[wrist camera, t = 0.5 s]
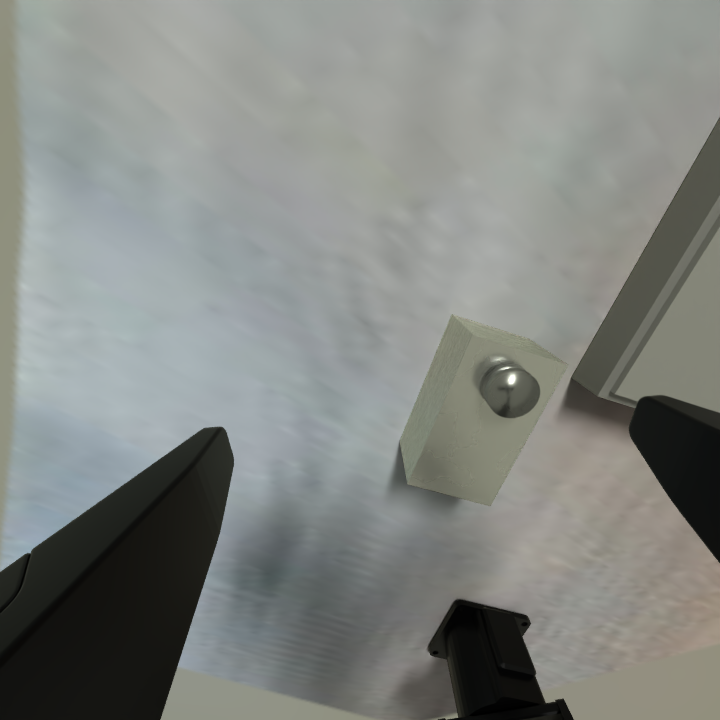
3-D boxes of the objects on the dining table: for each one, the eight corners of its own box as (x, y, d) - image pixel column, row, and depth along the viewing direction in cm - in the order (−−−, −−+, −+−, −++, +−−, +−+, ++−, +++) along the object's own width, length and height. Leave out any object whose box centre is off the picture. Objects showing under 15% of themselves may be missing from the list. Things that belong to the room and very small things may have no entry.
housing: (468, 458, 25) (497, 522, 19) (399, 439, 24) (410, 499, 19) (528, 338, 22) (582, 374, 16) (450, 313, 21) (481, 342, 16)
